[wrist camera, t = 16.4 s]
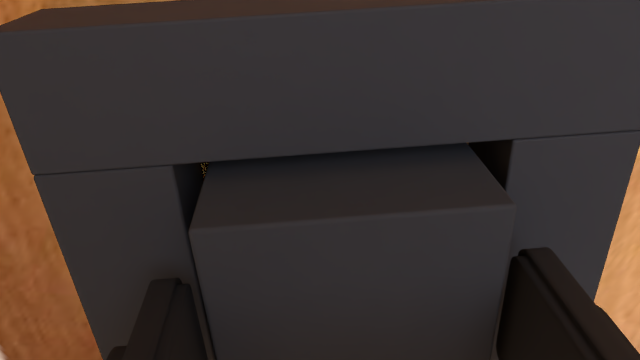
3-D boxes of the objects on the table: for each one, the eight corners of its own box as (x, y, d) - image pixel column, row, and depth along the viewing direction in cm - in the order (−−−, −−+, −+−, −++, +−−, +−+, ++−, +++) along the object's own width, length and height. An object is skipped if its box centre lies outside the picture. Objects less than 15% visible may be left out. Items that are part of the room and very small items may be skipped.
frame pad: (39, 8, 11) (-25, 33, 8) (606, -27, 11) (687, -13, 9) (161, 393, 17) (142, 465, 14) (522, 360, 17) (557, 426, 15)
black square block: (216, 131, 13) (186, 230, 9) (446, 115, 13) (519, 204, 9) (245, 305, 15) (232, 439, 11) (432, 289, 16) (482, 416, 12)
